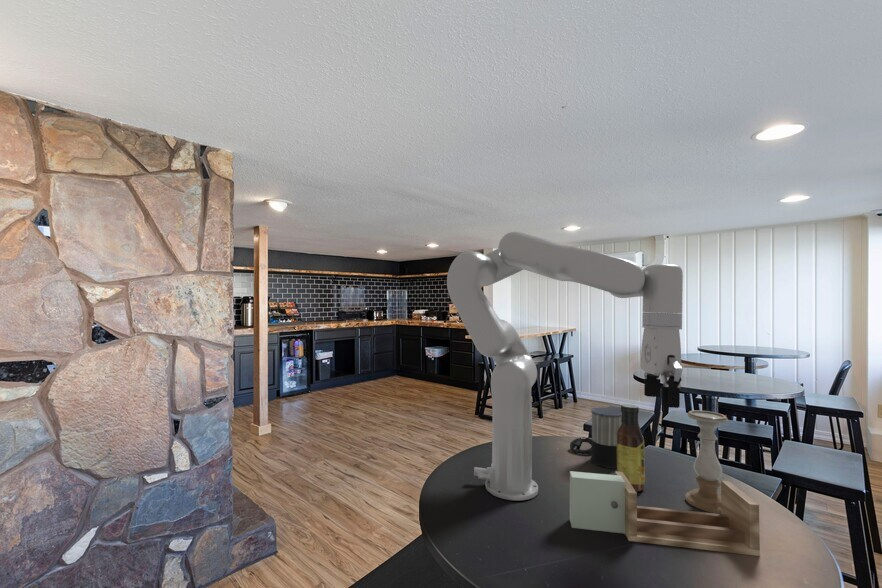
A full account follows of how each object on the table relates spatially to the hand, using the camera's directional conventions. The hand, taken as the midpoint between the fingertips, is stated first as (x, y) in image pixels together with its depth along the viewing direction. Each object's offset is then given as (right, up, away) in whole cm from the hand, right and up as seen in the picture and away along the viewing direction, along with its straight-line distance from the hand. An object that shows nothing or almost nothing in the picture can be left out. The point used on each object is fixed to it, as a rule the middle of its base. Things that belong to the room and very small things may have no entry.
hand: (660, 401), depth 84 cm
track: (0, -24, -7) cm, 25 cm away
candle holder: (+14, -25, +5) cm, 29 cm away
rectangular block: (-16, -24, -5) cm, 29 cm away
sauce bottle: (0, -25, +13) cm, 28 cm away
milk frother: (-1, -26, +32) cm, 41 cm away
